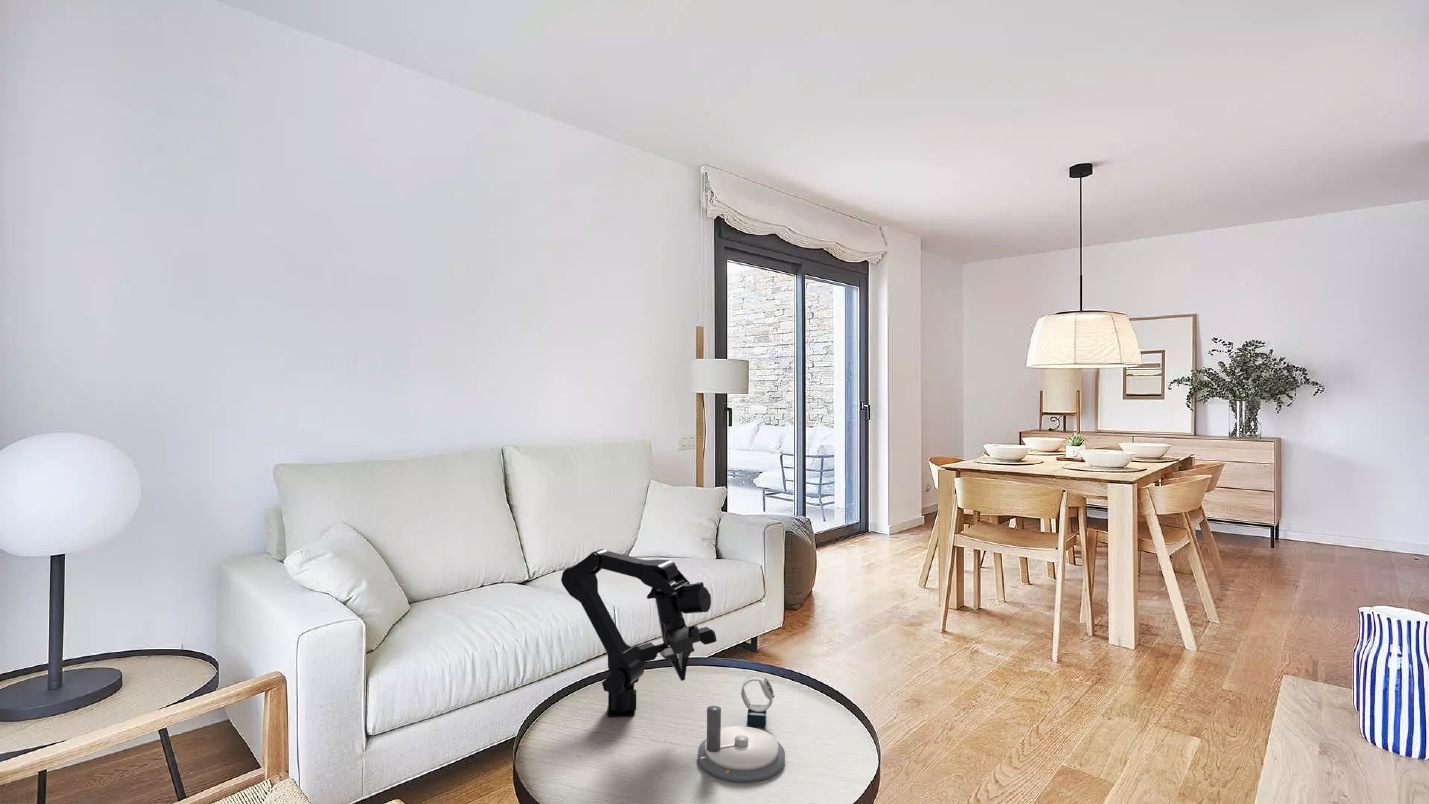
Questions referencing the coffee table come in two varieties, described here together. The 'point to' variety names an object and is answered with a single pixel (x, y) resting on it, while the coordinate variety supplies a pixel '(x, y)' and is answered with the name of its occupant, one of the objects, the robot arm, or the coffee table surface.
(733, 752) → the dial
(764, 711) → the watch
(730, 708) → the coffee table surface
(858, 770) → the coffee table surface
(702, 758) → the dial base
